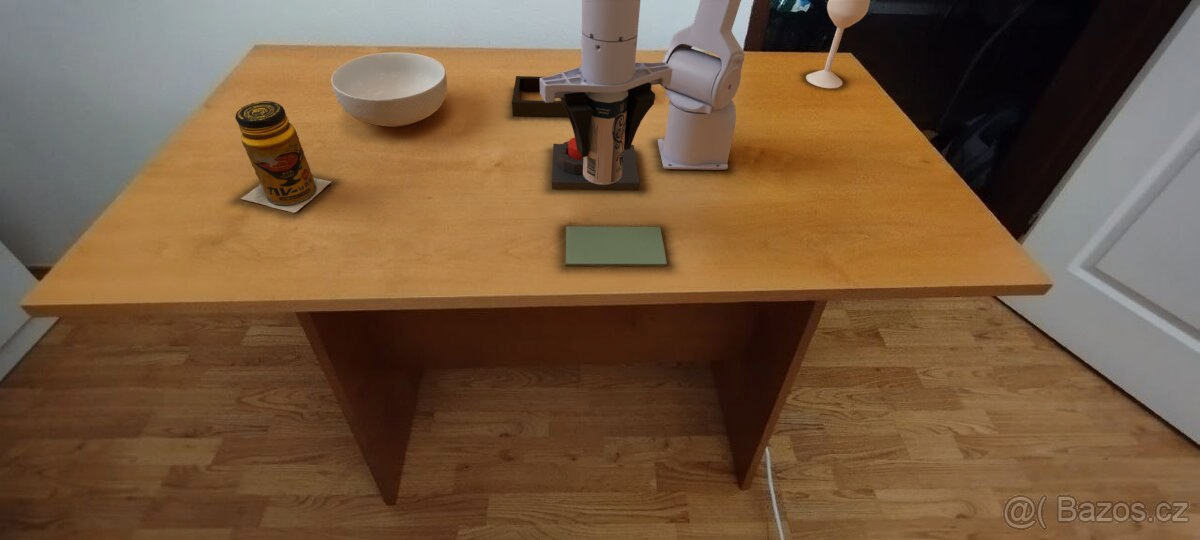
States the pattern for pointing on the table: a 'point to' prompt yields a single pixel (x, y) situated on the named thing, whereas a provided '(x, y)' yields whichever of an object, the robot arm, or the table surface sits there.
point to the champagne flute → (838, 37)
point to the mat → (614, 246)
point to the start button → (573, 150)
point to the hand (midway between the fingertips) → (603, 148)
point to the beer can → (606, 137)
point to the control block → (571, 175)
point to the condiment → (276, 158)
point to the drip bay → (531, 106)
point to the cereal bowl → (390, 88)
